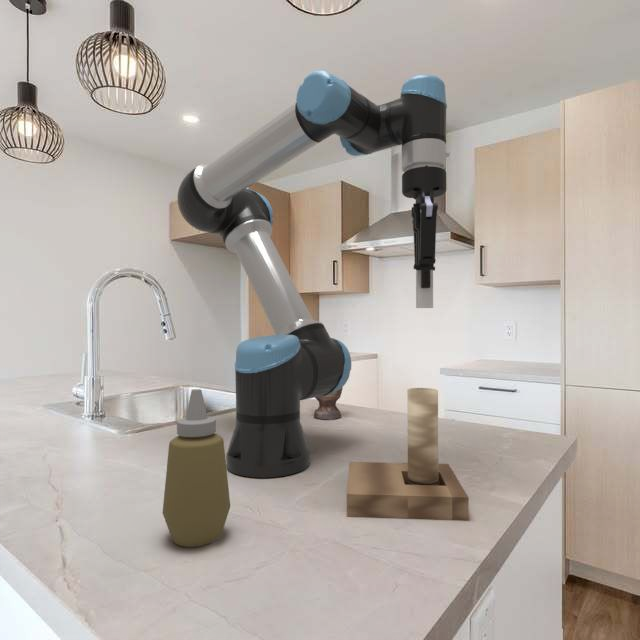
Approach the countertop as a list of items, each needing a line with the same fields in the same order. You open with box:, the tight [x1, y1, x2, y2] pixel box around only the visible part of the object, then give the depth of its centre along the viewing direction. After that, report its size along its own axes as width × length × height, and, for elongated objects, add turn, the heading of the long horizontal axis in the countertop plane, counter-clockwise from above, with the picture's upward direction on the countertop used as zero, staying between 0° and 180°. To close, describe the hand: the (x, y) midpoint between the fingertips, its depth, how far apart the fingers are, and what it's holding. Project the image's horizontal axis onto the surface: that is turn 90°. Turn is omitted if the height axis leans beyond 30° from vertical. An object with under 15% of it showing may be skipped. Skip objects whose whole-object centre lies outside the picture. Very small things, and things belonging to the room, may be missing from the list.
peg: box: [406, 387, 439, 486], centre depth 68 cm, size 4×4×16 cm
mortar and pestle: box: [313, 386, 344, 421], centre depth 125 cm, size 12×9×20 cm
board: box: [346, 461, 470, 521], centre depth 68 cm, size 16×14×3 cm
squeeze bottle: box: [162, 388, 231, 548], centre depth 56 cm, size 8×8×18 cm
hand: (424, 307), depth 79 cm, fingers closed
